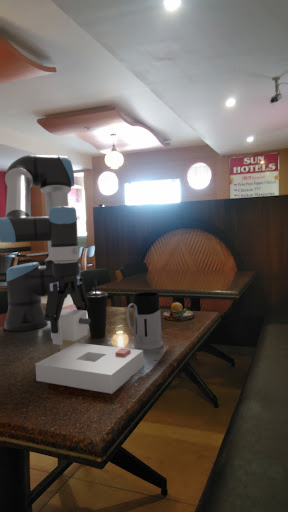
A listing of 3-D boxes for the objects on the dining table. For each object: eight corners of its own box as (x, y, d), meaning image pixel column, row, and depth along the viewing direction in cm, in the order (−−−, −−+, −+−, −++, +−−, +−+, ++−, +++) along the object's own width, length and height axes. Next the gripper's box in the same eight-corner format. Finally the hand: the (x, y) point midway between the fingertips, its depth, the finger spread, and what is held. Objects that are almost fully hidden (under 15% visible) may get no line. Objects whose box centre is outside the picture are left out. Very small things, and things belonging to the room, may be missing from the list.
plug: (52, 352, 100) (49, 314, 100) (66, 345, 106) (63, 309, 106) (83, 357, 96) (81, 316, 95) (96, 349, 102) (94, 311, 101)
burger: (199, 316, 137) (198, 297, 136) (181, 323, 128) (180, 302, 128) (174, 312, 145) (174, 294, 144) (156, 318, 136) (155, 299, 136)
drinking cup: (105, 339, 111) (102, 276, 109) (82, 339, 112) (79, 276, 111) (112, 332, 118) (109, 273, 117) (91, 332, 120) (87, 273, 119)
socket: (36, 380, 82) (35, 360, 81) (76, 357, 96) (75, 339, 96) (112, 393, 73) (110, 371, 73) (143, 365, 88) (142, 347, 87)
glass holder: (168, 342, 106) (166, 292, 105) (142, 357, 94) (140, 301, 93) (144, 338, 110) (142, 291, 109) (116, 352, 99) (113, 299, 98)
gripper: (49, 265, 88) (54, 352, 90) (98, 258, 109) (101, 328, 110) (26, 265, 91) (31, 349, 93) (77, 258, 112) (81, 326, 113)
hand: (69, 338), depth 101 cm, fingers open, 10 cm apart
